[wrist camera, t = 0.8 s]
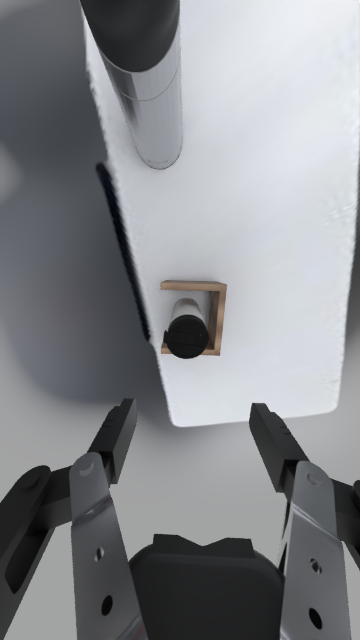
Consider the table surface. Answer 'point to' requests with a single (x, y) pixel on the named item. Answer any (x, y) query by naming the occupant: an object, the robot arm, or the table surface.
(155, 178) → the table surface
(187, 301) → the travel mug
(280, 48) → the table surface
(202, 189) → the table surface
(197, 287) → the wooden u-shaped bracket
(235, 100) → the table surface
